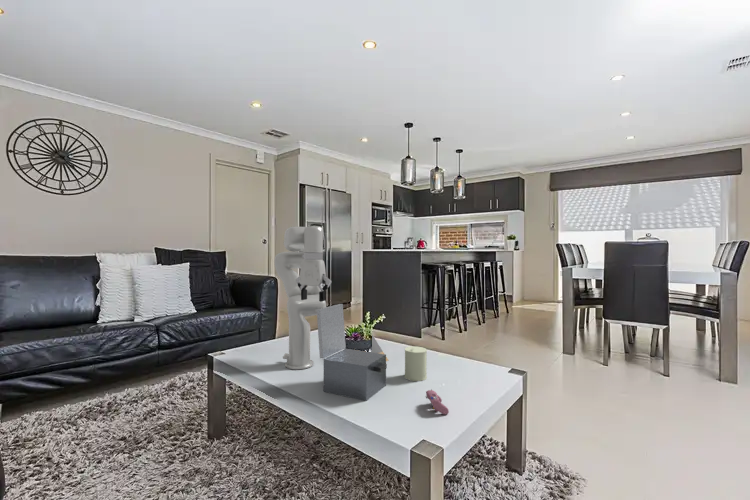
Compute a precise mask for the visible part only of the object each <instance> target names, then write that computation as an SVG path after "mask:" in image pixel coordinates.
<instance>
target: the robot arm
mask: <svg viewBox="0 0 750 500" xmlns="http://www.w3.org/2000/svg"><path fill="white" fill-rule="evenodd" d="M323 231H324V230H323V227H321V226H290V227H288V228H287V229H285V232H284V235H283V236H284V237H283V238H284V240H283V246H284V248H285V250H287V251H282V252H279V253H277V254H276V255H275V257H274V261H273V262H274V268H275V271H276V273H277V276H278V277H279V278H280V280H281V281H282V284H283V288H284V291H285V293H286V294H285V295H286V296H287V298H288V299H287V301H286V310H287V316H288V353H284V355H283V356H282V359H284V360H286V362H285V363H284V365H285V367H286V368H287V369H289V370H305V369H309V368H311V367H313V366H314V364H315V363H314V360H313V359H311V325H310V322H308V320H307V319H306V317H309V316H310V317H311V316H317V309H321V308H325V307H327V302H326V294H327V293H326V292H327V291H328V289H329V287H330V286H331V284H332V280H331V279H330V278H329V277H327V275H326V265H325V261H324V260H323V259H324V257H323V256H324V255H323V254H324V253H323V252H324V245H323V244H324V240H323V239H324V232H323ZM294 269H299V272H300V273H298V272H297V271H295V270H294Z"/></svg>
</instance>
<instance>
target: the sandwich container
mask: <svg viewBox="0 0 750 500" xmlns="http://www.w3.org/2000/svg"><path fill="white" fill-rule="evenodd" d="M372 353H379V354H385V352H384V350H383V349H382V348H381V346H380V345H379V343H378V341H377V340H376V338H375V336H374V335H373V334H372ZM388 361H389V358H388V357H387V356H386V362H388Z"/></svg>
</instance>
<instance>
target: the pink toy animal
mask: <svg viewBox="0 0 750 500" xmlns="http://www.w3.org/2000/svg"><path fill="white" fill-rule="evenodd" d="M425 398H426V399H427V400H429V401H430V404H431V406H432V409H433V410H434V411H435V412H439V413H440V414H442V415H448V414H449V408H448V407H447V406H445V405H444V404H443V402H442V400H443V399H442V397H441V396H440V395H438V393H437V392H436V391H434V390H433V389H432V388H431V389H428V390H426V391H425Z"/></svg>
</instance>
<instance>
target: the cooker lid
mask: <svg viewBox="0 0 750 500" xmlns="http://www.w3.org/2000/svg"><path fill="white" fill-rule="evenodd" d="M344 317H345V316H344V304H343V303H339V304H334V305H329V306H326V307H325V308H321V309H317V315H316V320H317V335H318V338H317V339H318V349H319V359H325V358H327V357H329V356H331V355H333V354H336V353H338V352H340V351H342V350H344V349H347V345H346V331H345V330H346V329H345V318H344Z"/></svg>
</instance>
